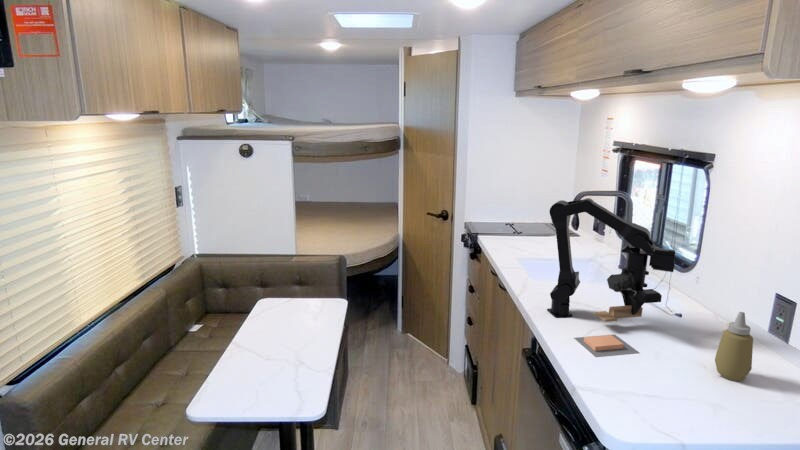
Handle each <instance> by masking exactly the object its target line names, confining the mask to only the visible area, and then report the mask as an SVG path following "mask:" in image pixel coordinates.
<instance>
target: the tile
mask: <svg viewBox="0 0 800 450" xmlns="http://www.w3.org/2000/svg"><path fill="white" fill-rule="evenodd" d="M612 335H613V334H605V336H602V335H593V337H590V336H583V337H584V342H585V343H586V344H587V345H588V346H590V347H591V348H592V349H593V350H594V351H602V350H613V349H623V345H624V344H623V343H621V342H620V341H619V340H617V339H616V338H615V337H613V336H612Z"/></svg>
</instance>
